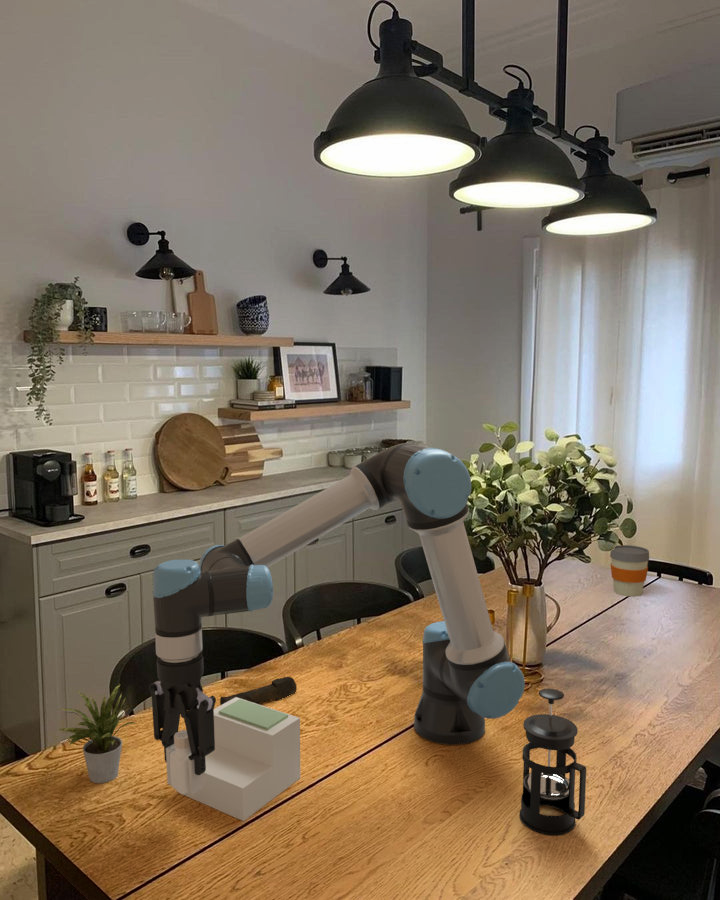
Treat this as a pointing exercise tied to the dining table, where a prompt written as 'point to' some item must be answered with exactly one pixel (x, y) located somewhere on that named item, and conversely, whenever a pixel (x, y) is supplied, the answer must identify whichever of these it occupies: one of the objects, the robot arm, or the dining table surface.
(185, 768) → the white square bottle
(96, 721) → the house plant
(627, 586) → the reusable coffee cup
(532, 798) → the french press
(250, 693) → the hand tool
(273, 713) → the stepped riser
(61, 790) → the dining table surface
